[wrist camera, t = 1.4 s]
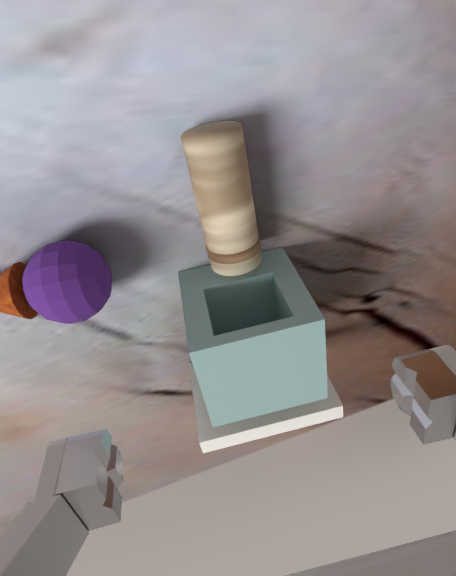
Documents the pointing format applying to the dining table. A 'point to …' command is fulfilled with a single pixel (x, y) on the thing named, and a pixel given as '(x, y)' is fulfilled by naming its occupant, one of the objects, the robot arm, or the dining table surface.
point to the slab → (261, 419)
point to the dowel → (223, 195)
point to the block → (254, 339)
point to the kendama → (57, 284)
